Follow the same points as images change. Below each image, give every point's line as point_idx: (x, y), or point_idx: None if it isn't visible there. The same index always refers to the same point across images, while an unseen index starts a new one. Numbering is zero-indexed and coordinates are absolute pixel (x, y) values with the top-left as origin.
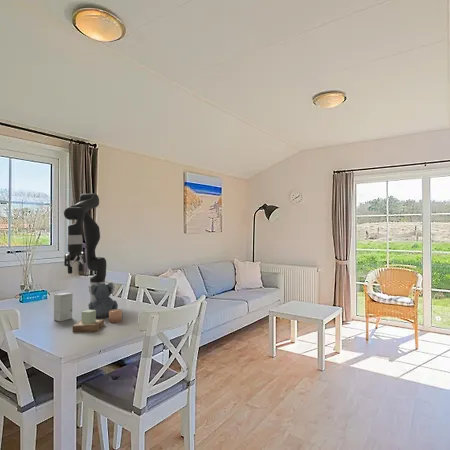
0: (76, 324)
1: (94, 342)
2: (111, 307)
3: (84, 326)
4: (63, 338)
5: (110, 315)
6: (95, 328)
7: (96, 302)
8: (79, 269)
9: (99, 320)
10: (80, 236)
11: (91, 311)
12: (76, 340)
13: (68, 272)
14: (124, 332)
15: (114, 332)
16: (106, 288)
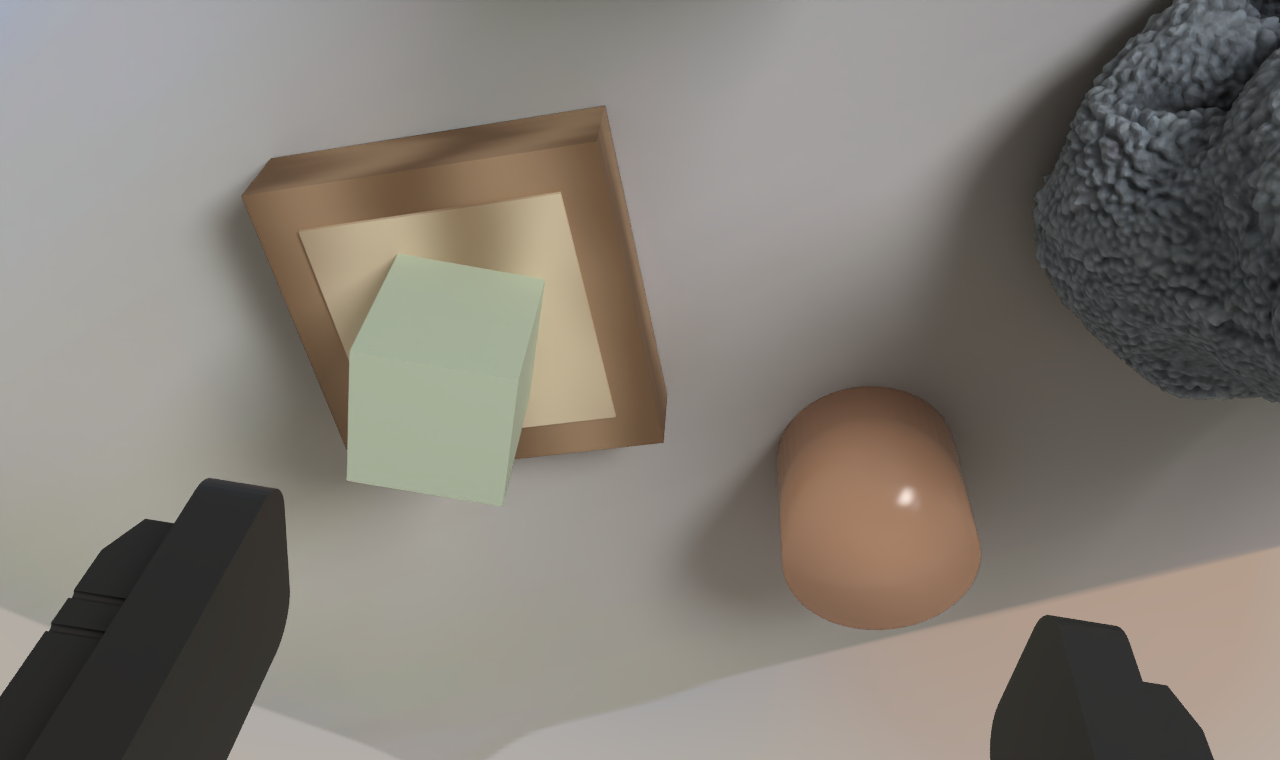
0: (331, 206)
1: (69, 545)
2: (1199, 397)
3: (307, 341)
4: (15, 189)
5: (791, 493)
6: None
7: (1258, 195)
8: (1049, 698)
9: (587, 418)
10: None
11: (405, 482)
12: (33, 366)
13: (138, 552)
14: (439, 672)
15: (412, 596)
16: None
